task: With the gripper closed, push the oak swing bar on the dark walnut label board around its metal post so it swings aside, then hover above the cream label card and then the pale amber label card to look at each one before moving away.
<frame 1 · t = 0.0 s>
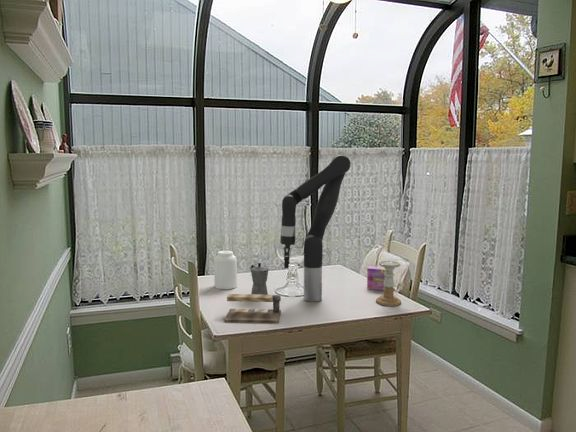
hand: (286, 266, 246), 17 cm above the table, tool pointing down, fingers open, 8 cm apart
candle holder: (388, 302, 244), on the table
swing arm: (254, 298, 224), point 8 cm above the table, hinge at 0.0°
white jar: (225, 287, 270), on the table
label board: (253, 316, 221), on the table
coffeepot: (258, 296, 252), on the table
box: (377, 288, 268), on the table
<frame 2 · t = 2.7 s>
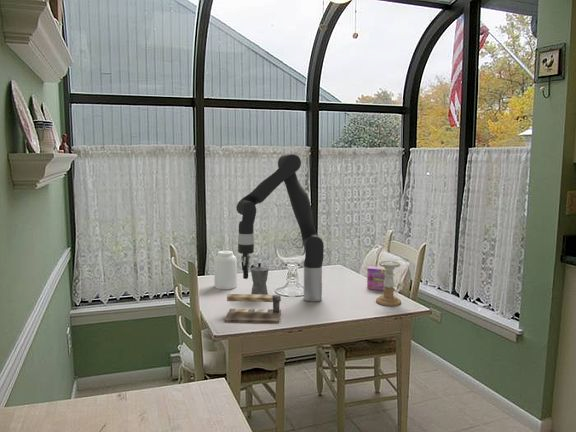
hand: (245, 278, 232), 15 cm above the table, tool pointing down, fingers closed
nothing on the table moved.
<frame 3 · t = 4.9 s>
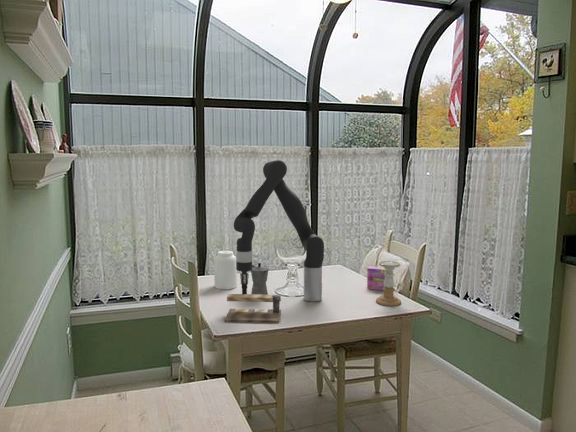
hand: (244, 296, 229), 7 cm above the table, tool pointing down, fingers closed
swing arm: (254, 298, 224), point 8 cm above the table, hinge at 0.3°, touching gripper
everything else where it was.
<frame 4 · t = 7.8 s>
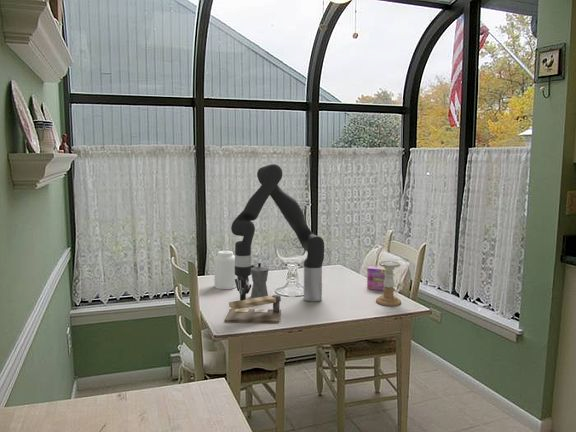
hand: (242, 301, 220), 7 cm above the table, tool pointing down, fingers closed
swing arm: (256, 301, 219), point 8 cm above the table, hinge at 32.7°, touching gripper
everything else where it was.
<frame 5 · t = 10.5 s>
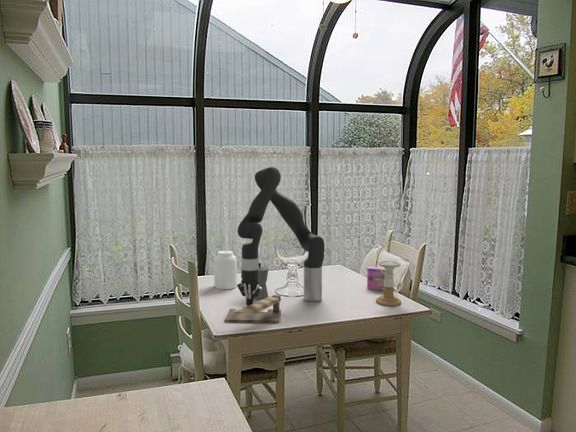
hand: (249, 306, 214), 7 cm above the table, tool pointing down, fingers closed
swing arm: (263, 304, 215), point 8 cm above the table, hinge at 60.3°, touching gripper
everything else where it was.
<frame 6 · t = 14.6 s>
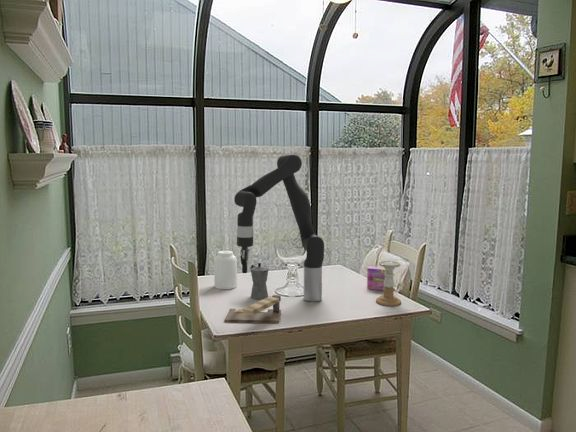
hand: (244, 272, 223), 20 cm above the table, tool pointing down, fingers closed
swing arm: (263, 304, 215), point 8 cm above the table, hinge at 61.1°
everything else where it was.
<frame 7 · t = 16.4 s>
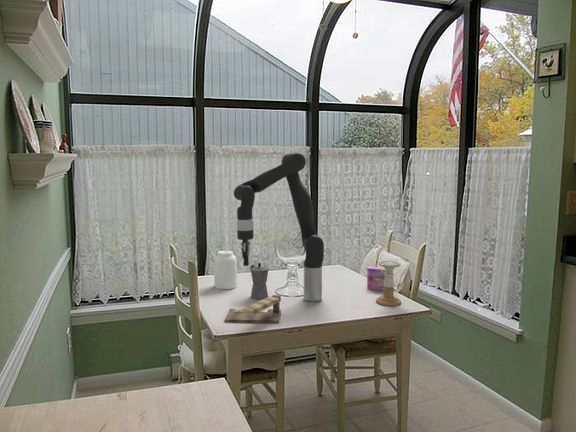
hand: (246, 265, 227), 22 cm above the table, tool pointing down, fingers closed
nothing on the table moved.
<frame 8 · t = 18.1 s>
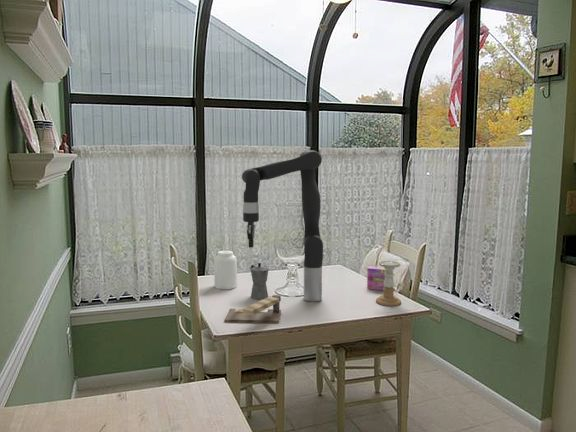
hand: (251, 247, 234), 29 cm above the table, tool pointing down, fingers closed
nothing on the table moved.
at the end: swing arm at +61° (first picture: +0°) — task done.
